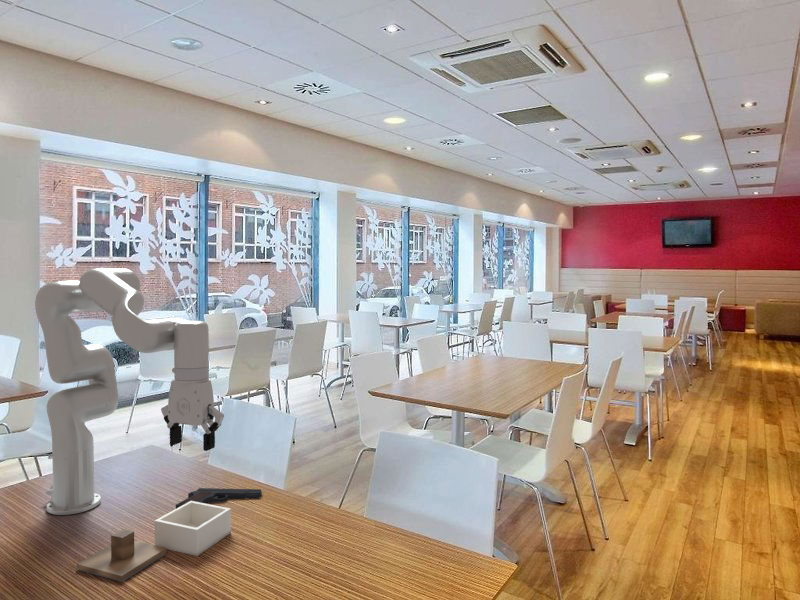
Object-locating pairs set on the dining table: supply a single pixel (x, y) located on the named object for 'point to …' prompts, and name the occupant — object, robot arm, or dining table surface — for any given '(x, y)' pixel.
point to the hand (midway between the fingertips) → (192, 446)
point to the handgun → (219, 495)
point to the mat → (128, 576)
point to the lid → (121, 556)
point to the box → (193, 527)
